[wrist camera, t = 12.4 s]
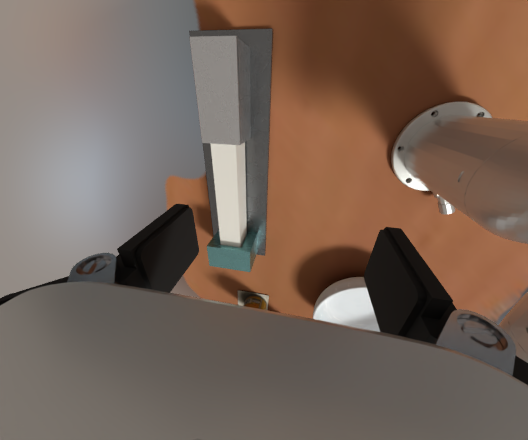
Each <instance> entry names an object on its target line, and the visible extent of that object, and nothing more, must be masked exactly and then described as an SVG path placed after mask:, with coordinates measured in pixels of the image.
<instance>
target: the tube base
mask: <svg viewBox="0 0 528 440" xmlns="http://www.w3.org/2000/svg"><path fill="white" fill-rule="evenodd" d="M189 32H190V37H189V38H190V46H191V54H192V63H193V71H194V79H195V87H196V96H197V104H198V113H199V121H200V129H201V137H202V143H203V150H204V159H205V167H206V176H207V184H208V192H209V201H210V209H211V218H212V226H213V234H214V237H213V238H212V240H211V241H210V242H209V244H208V245H207V251H208V258H209V265H210V266H215V267H221V268H228V269H234V270H240V271H247V272H250V271H251V269H252V266H253V263H254V260H255V257H256V254H258V255H265V249H266V219H267V190H268V161H269V131H270V102H271V73H272V44H273V29H243V30H205V31H189ZM244 142H245V171H246V217H247V236H246V239H245V241H244V243H243V245H242V247H241V248H240V247H233V246H226V245H221V243H220V233H219V223H218V213H217V203H216V193H215V183H214V173H213V164H212V154H211V144H210V143H212V144H228V145H241V144H243V143H244Z"/></svg>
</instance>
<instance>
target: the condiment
mask: <svg viewBox="0 0 528 440" xmlns="http://www.w3.org/2000/svg"><path fill="white" fill-rule="evenodd" d="M268 298H269V296H267V295H263V294H258V293H250V292H246V291H239V290H238V305H241V306H246V307H251V308H257V309H262V310H268Z"/></svg>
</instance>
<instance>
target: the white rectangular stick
mask: <svg viewBox="0 0 528 440" xmlns="http://www.w3.org/2000/svg"><path fill="white" fill-rule="evenodd" d="M210 144H211V154H212V164H213V173H214V183H215V193H216V203H217V213H218V223H219V233H220V243H221V245H226V246H233V247H240V248H241V247H242V245H243V243H244V241H245V239H246V236H247V217H246V171H245V142H244V143H243V144H241V145H228V144H212V143H210Z"/></svg>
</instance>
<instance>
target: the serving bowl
mask: <svg viewBox="0 0 528 440" xmlns="http://www.w3.org/2000/svg"><path fill="white" fill-rule="evenodd" d="M313 319H316V320H321V321H326V322H332V323H337V324H342V325H348V326H353V327H358V328H363V329H368V330H373V331H378V332H380V329H379V326H378V323H377V320H376V316H375V313H374V310H373V307H372V303H371V300H370V297H369V294H368V290H367V287H366V284H365V281H364V277H352V278H347V279H343V280H340V281H338V282H335V283H333V284H332V285H330V286H329V287H327V288H326V289H325V290H324V291H323V292H322V293H321V294H320V296H319V297H318V299H317V301H316V304H315V307H314V312H313Z"/></svg>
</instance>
